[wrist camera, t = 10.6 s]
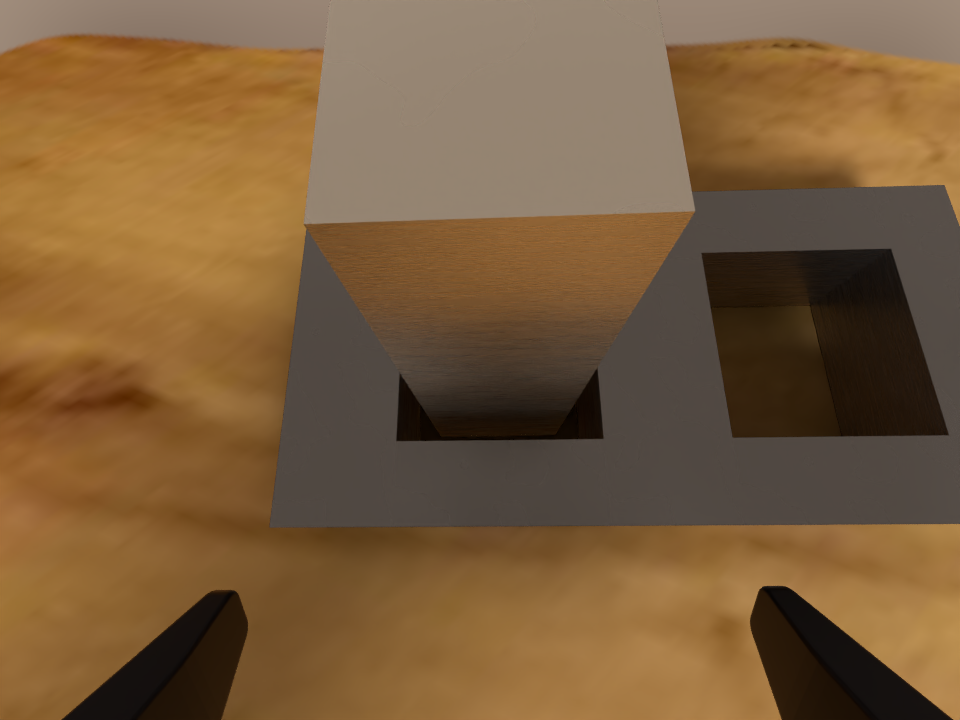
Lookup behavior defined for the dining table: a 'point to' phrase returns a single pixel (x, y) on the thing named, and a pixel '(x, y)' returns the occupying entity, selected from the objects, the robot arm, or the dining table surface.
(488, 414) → the peg
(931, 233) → the grey flat block
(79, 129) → the dining table surface
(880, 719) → the robot arm
